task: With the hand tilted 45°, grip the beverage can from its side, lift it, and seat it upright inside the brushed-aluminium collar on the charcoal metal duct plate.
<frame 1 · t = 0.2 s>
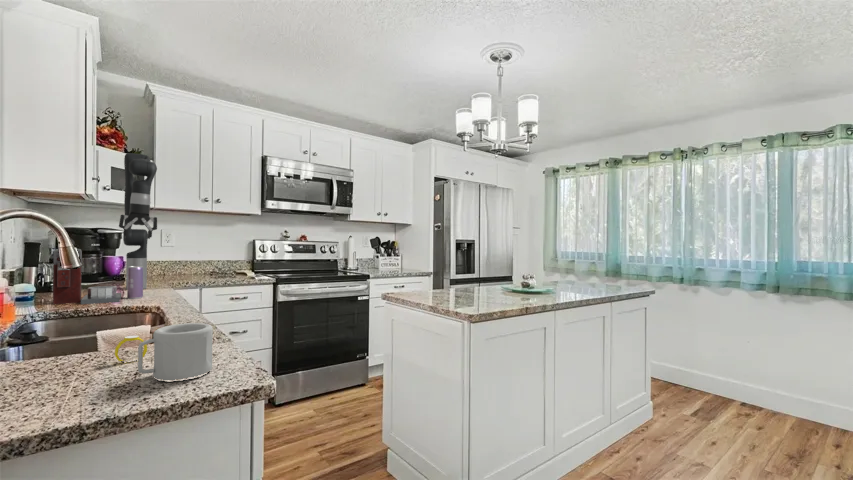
hand: (137, 238, 184), 28 cm above the worktop, tool pointing down, fingers open, 8 cm apart
beverage can: (135, 298, 187), on the worktop
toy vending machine: (67, 303, 172), on the worktop
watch: (131, 362, 92), on the worktop
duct: (102, 300, 179), on the worktop
mug: (176, 377, 83), on the worktop
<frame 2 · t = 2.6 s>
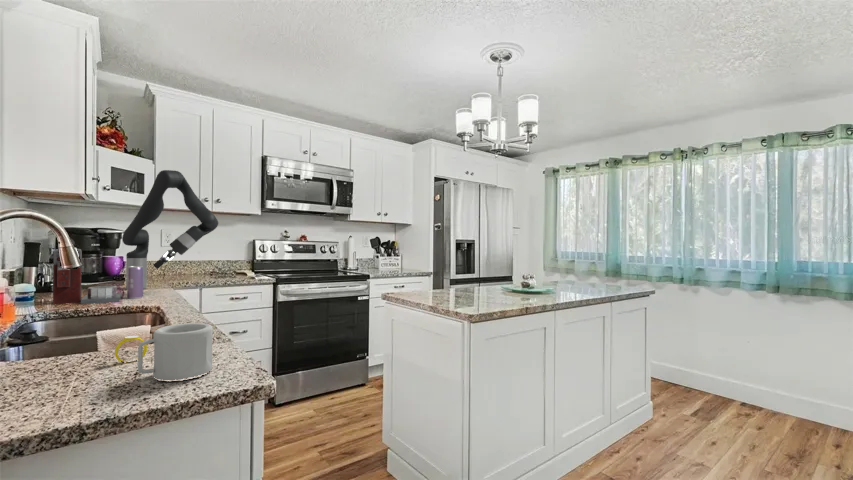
hand: (155, 266, 191), 15 cm above the worktop, tool tilted 45°, fingers open, 8 cm apart
nothing on the worktop moved.
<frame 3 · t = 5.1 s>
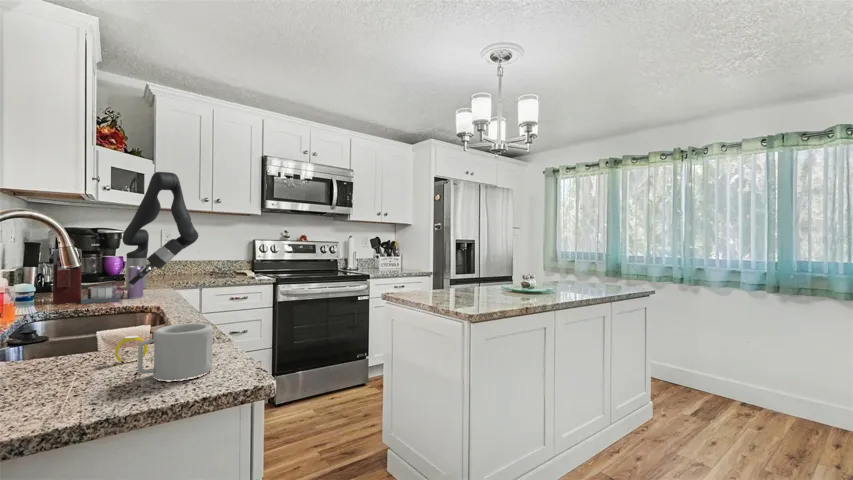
hand: (130, 282, 186), 7 cm above the worktop, tool tilted 45°, fingers closed on beverage can, 6 cm apart
beverage can: (135, 298, 187), on the worktop, touching gripper
everything else where it was.
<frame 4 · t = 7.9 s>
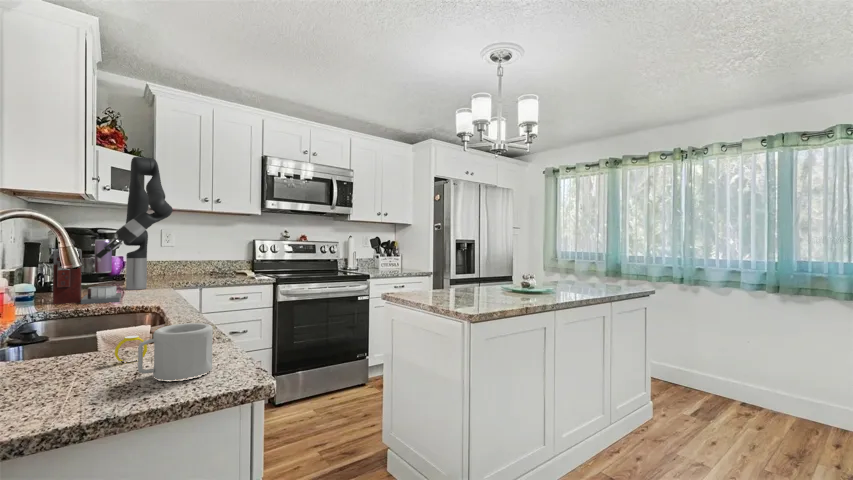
hand: (98, 256, 178), 20 cm above the worktop, tool tilted 45°, fingers closed on beverage can, 6 cm apart
beverage can: (103, 273, 179), point 12 cm above the worktop, touching gripper
everything else where it was.
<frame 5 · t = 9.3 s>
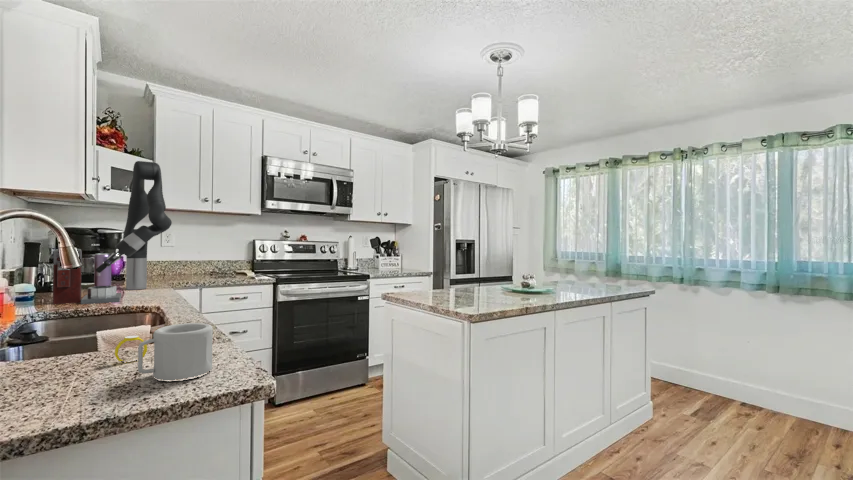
hand: (98, 270, 178), 13 cm above the worktop, tool tilted 45°, fingers closed on beverage can, 6 cm apart
beverage can: (102, 287, 179), point 6 cm above the worktop, touching gripper
everything else where it was.
when the fingers open (11 cm above the worktop, at t = 10.6 s): beverage can drops 1 cm, resting on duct.
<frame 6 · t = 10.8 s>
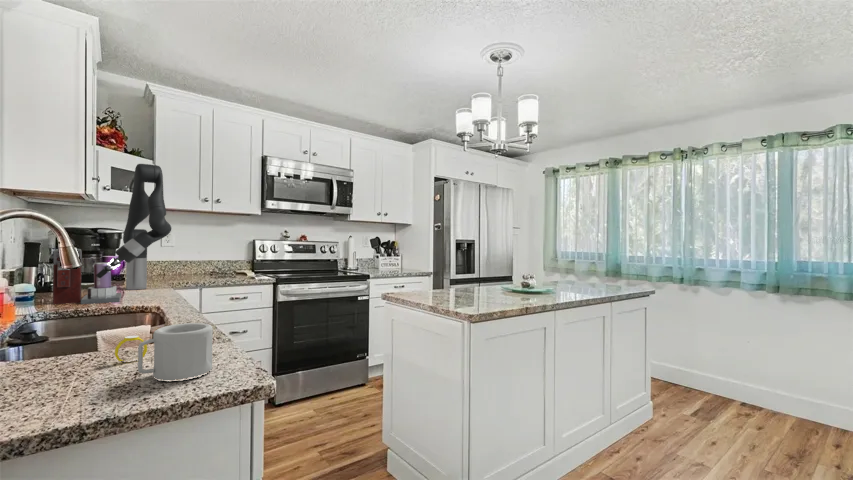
hand: (98, 276, 178), 11 cm above the worktop, tool tilted 45°, fingers open, 8 cm apart
beverage can: (103, 296, 179), point 2 cm above the worktop, touching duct
everything else where it was.
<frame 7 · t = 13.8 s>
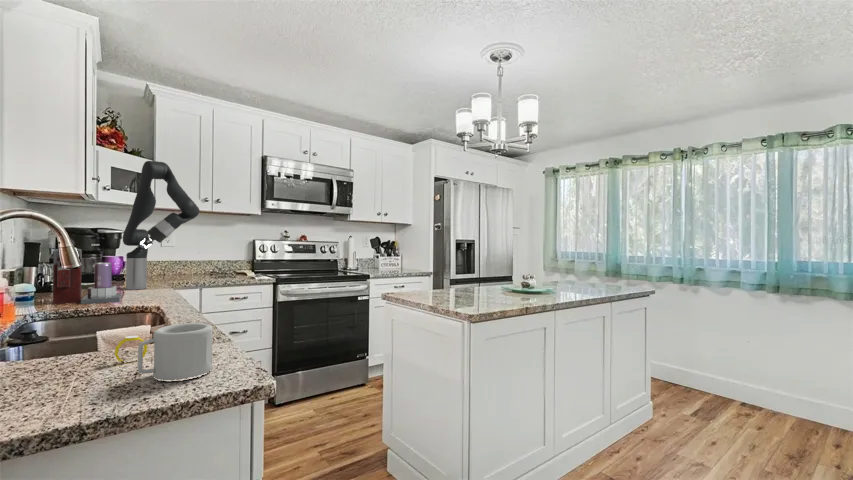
hand: (131, 254, 185), 21 cm above the worktop, tool tilted 45°, fingers open, 8 cm apart
nothing on the worktop moved.
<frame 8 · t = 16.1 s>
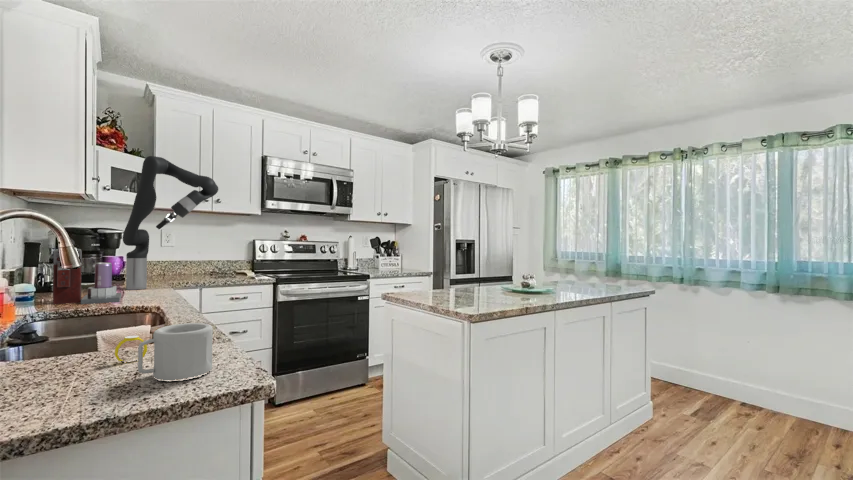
hand: (157, 228, 200), 34 cm above the worktop, tool tilted 45°, fingers open, 8 cm apart
nothing on the worktop moved.
at the end: beverage can 0.2 cm off-centre on the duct, point 1.8 cm above the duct's base; beverage can tilted 0°; the gripper is holding nothing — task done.
